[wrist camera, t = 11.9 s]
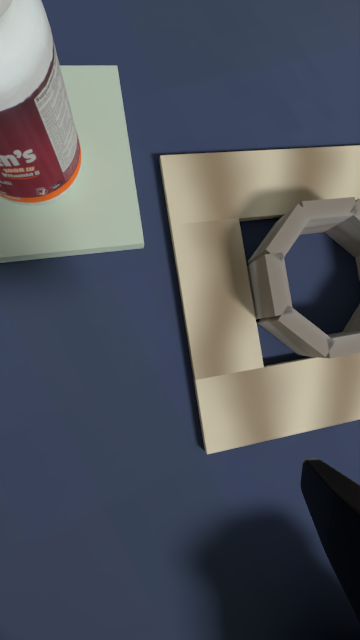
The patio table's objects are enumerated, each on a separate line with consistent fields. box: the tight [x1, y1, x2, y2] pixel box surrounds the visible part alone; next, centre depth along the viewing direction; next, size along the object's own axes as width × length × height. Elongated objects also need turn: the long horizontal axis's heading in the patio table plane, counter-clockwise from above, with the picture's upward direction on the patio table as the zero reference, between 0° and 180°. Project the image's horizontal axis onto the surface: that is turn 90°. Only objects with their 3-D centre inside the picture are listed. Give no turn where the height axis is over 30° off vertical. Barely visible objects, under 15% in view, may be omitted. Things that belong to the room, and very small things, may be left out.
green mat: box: [0, 66, 144, 263], centre depth 19 cm, size 12×12×1 cm
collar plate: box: [159, 145, 360, 454], centre depth 20 cm, size 20×20×3 cm
